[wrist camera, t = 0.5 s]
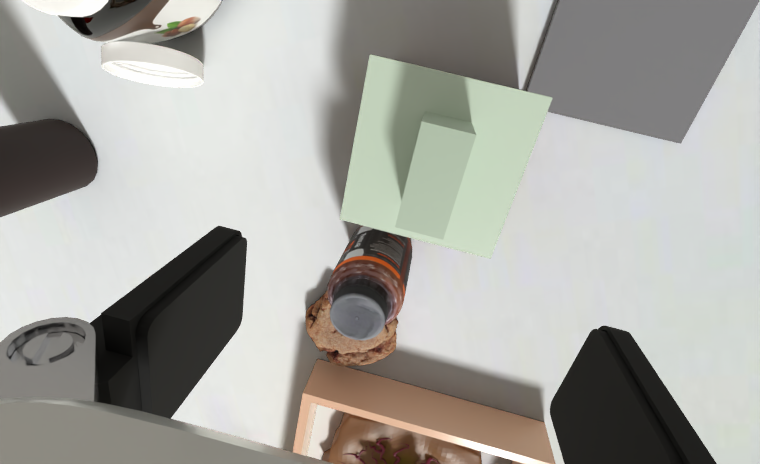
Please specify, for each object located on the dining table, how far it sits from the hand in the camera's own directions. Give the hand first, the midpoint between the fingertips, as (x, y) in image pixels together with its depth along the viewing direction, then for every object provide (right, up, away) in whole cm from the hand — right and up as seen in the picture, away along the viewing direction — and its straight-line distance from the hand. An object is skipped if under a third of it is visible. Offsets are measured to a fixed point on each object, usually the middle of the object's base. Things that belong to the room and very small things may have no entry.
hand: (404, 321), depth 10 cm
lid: (+3, +8, +16) cm, 18 cm away
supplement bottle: (0, +1, +27) cm, 27 cm away
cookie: (-3, -7, +31) cm, 32 cm away
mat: (+17, +16, +17) cm, 29 cm away
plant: (+2, -26, +39) cm, 47 cm away
